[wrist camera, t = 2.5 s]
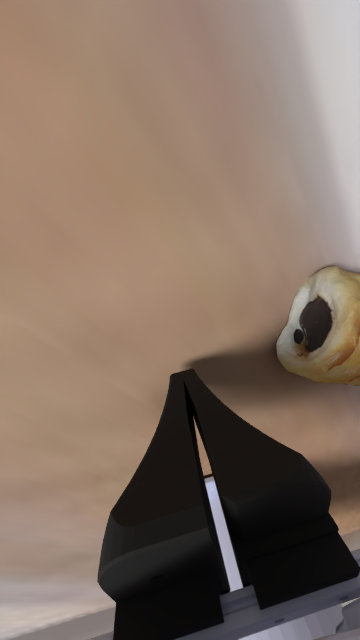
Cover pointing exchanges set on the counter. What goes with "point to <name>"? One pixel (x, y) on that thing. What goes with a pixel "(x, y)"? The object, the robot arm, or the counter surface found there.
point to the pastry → (324, 329)
